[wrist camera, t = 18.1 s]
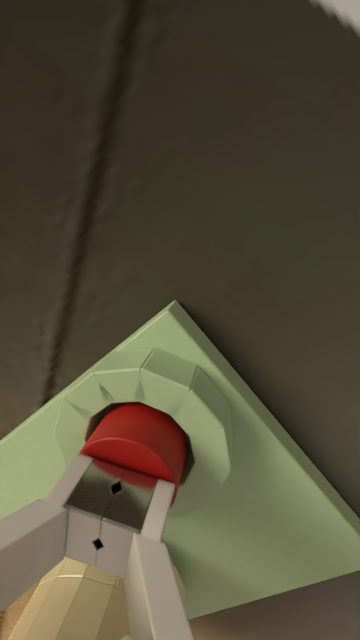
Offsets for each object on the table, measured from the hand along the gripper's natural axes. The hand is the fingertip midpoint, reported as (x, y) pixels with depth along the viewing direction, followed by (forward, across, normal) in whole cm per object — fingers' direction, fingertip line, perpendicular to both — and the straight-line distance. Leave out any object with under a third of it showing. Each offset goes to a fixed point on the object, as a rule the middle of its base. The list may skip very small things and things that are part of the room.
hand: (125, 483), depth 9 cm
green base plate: (+4, 0, +5) cm, 7 cm away
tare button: (+2, 0, 0) cm, 2 cm away
